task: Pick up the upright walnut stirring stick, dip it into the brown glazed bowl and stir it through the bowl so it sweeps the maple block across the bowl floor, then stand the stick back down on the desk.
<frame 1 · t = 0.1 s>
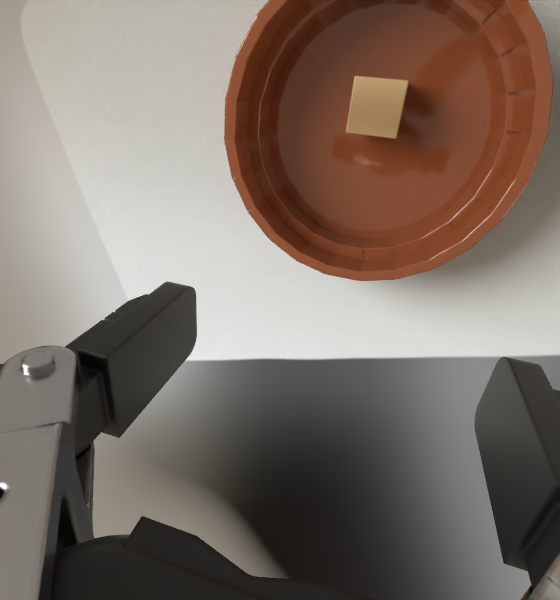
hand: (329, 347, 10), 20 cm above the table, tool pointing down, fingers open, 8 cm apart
block: (378, 107, 25), point 1 cm above the table, touching bowl
bowl: (374, 132, 26), on the table
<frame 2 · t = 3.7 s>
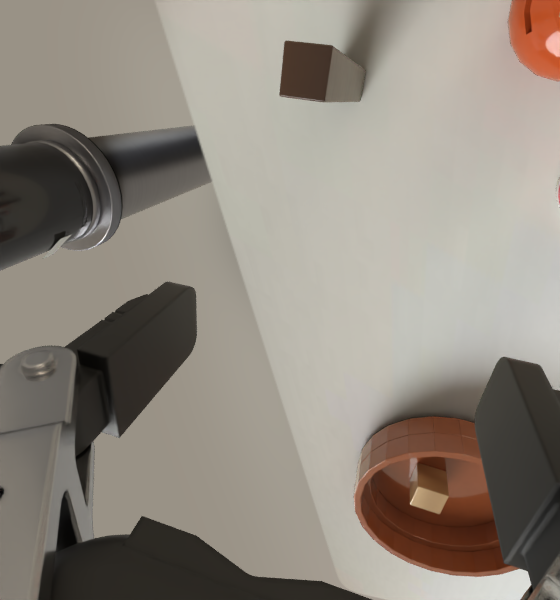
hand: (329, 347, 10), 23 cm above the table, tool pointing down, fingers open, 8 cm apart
stick: (349, 84, 28), on the table
block: (427, 475, 41), point 1 cm above the table, touching bowl
bowl: (441, 475, 41), on the table
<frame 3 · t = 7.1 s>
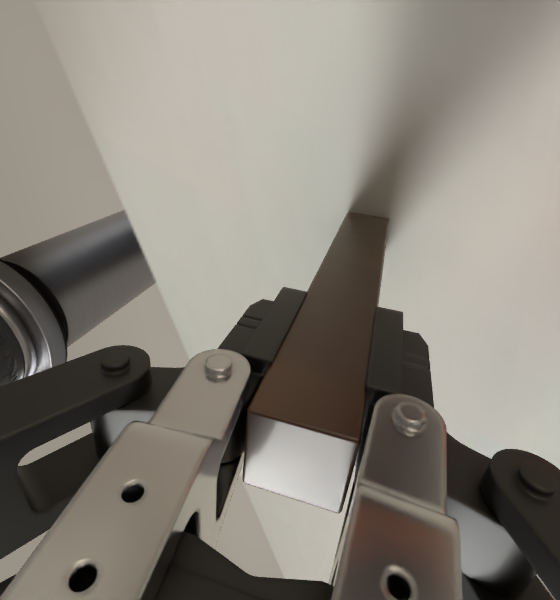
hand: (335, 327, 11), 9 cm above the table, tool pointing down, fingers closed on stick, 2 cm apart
stick: (364, 235, 19), on the table, touching gripper
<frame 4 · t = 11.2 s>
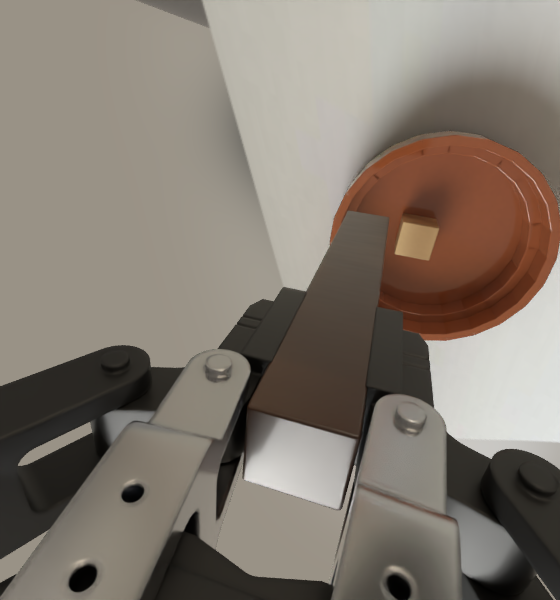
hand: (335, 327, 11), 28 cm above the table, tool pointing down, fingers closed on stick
stick: (364, 233, 19), point 19 cm above the table, touching gripper
block: (415, 231, 36), point 1 cm above the table, touching bowl
bowl: (431, 232, 36), on the table
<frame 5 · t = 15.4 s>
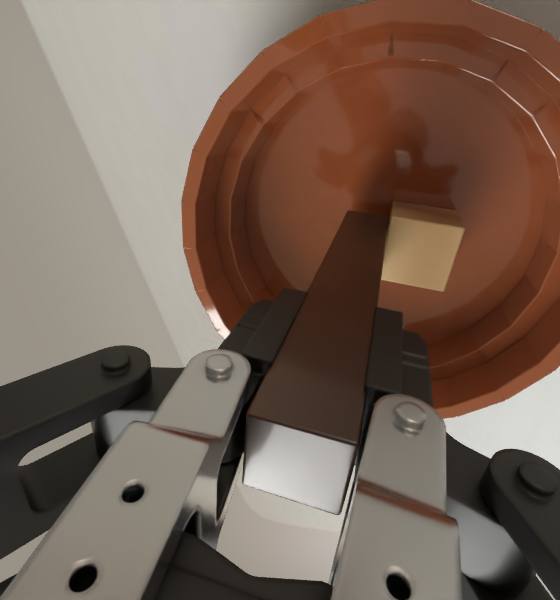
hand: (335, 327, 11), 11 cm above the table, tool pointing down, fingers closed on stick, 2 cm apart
stick: (364, 233, 19), point 2 cm above the table, touching gripper
block: (416, 234, 19), point 1 cm above the table, touching bowl
bowl: (379, 226, 20), on the table
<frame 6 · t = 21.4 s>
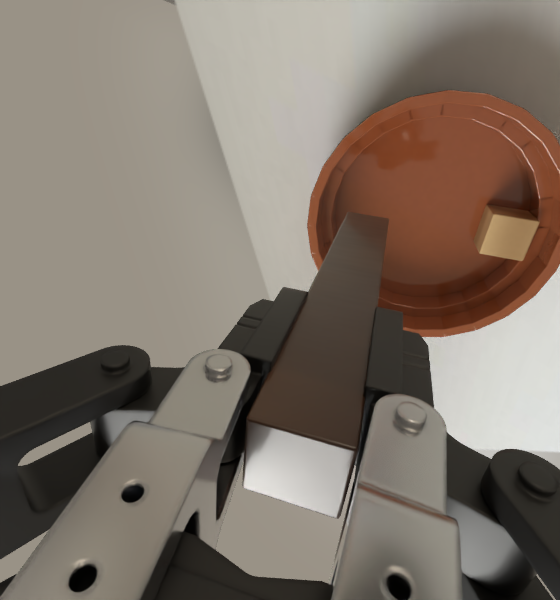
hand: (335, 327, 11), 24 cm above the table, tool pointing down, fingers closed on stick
stick: (364, 234, 19), point 15 cm above the table, touching gripper
block: (499, 226, 30), point 1 cm above the table, touching bowl
bowl: (425, 213, 31), on the table
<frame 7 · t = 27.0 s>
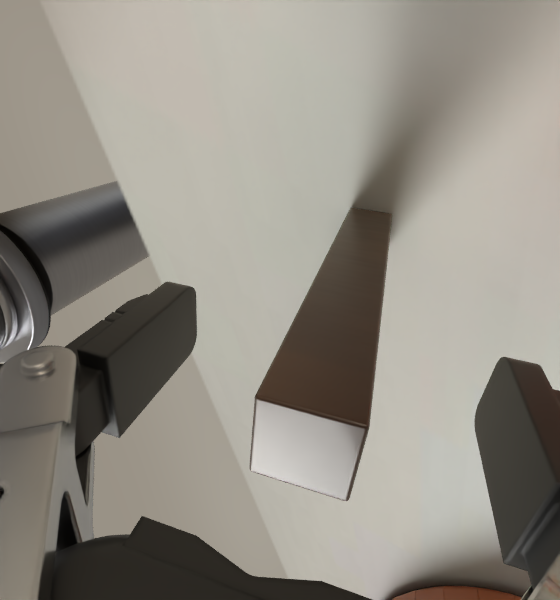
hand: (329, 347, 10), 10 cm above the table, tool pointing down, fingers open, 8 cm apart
stick: (367, 230, 19), on the table
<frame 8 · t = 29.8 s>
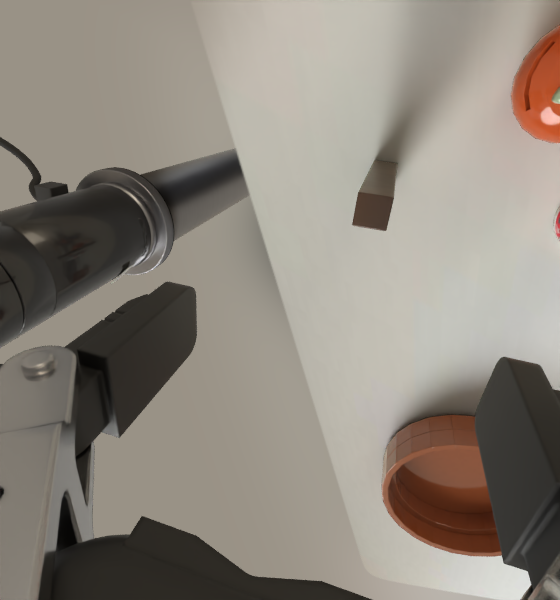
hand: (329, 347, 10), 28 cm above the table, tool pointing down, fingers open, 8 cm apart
stick: (383, 173, 34), on the table
tomato: (556, 84, 28), on the table
bowl: (458, 467, 46), on the table
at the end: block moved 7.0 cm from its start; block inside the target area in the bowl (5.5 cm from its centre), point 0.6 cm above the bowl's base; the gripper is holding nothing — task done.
